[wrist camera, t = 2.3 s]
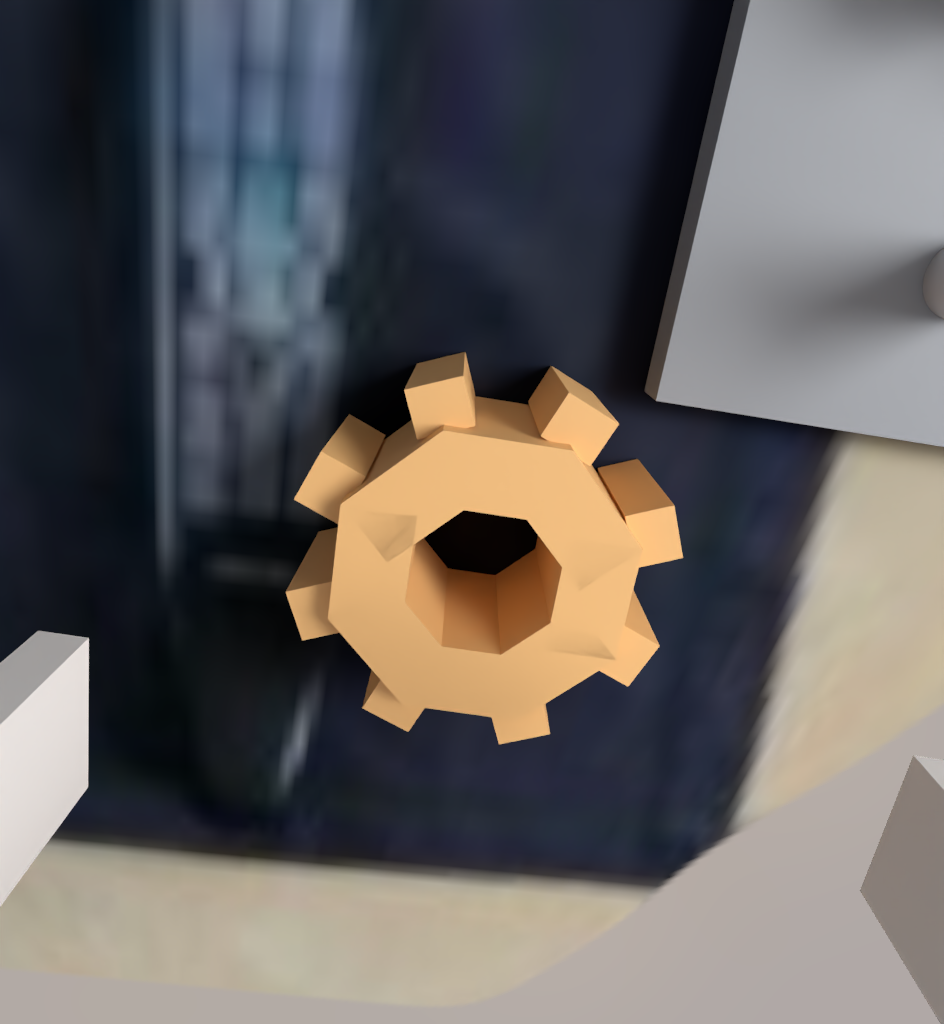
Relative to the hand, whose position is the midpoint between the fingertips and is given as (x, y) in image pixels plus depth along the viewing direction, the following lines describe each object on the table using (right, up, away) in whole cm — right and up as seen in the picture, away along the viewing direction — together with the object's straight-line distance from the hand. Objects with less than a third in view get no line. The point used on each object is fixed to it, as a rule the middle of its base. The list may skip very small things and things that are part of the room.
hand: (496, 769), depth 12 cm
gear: (0, +4, +11) cm, 12 cm away
